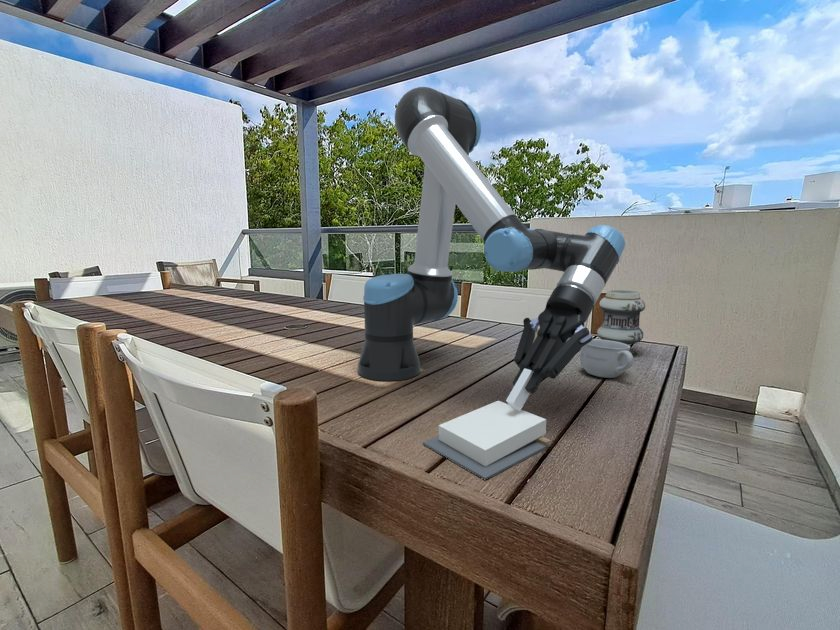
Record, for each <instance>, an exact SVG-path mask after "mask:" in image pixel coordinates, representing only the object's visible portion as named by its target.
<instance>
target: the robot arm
mask: <svg viewBox="0 0 840 630" xmlns="http://www.w3.org/2000/svg"><path fill="white" fill-rule="evenodd" d="M481 123H482V122H481V120H480V117H479V114H478V112H477V111H476V109H475V108H473V107H472V106H471V105H470V104H468V103H467V102H465V101H464V100H463V99H460V98H455V97H453V96H451V95H448V94H446V93H444V92H441V91H438V90H436V89H434V88H432V87H430V86H429V87H428V86H419V87H415V88H411V89H410V90H408V91H407V92H406V93H405V94H403V95H402V97H401V98H400V99H399V100H398V103H397V105H396V109H395V112H394V125H395V129H396V132H397V134H398V136H399V138H400V140H401V141H402V143H403V145H404V146H405V147H406V148H407V149H408V151H409V153H411V154H412V155H413V156H414V157H415V156H416V157H419V158H420V159H421V161H422V162H423V164H424V168H423V169H424V170H423V180H422V181H423V182H422V190H421V198H420V207H419V215H418V226H417V233H416V235H417V236H416V244H415V253H414V262H413V263H412V264H411V265H410V266H409V267H407V273H391V274H382V275H378V276H373V277H371V278H369V279H368V280H367V281H366V282H365V284H364V292H363V293H364V294H363V307H364V308H363V310H364V313H363V314H364V343H363V347H362V350H361V353H360V356H359V360H358V363H357V369H358V370H357V371H358V372H357V373H358V375H360V376H361V377H362V378H365V379H368V380H371V381H373V380H374V381H380V382H381V381H383V382H384V381H385V382H392V381H402V380H407V379H411V378H414V377H416V376H418V375H419V374H420V373H421V361H420V358H419V354H418V352H417V349H416V346H415V342H414V326H415V325H420V324H424V323H430V322H437V321H440V320H441V319H444V318H446V317H448V316H449V315H451V313H453V311H454V310H455V308H456V306H457V304H458V303H457V302H458V299H459V295H458V294H459V293H458V292H459V291H458V289H457V288H458V287H456V283H455V282H454V280H452V279H453V272H452V271H451V270H450V268H449V266H448V264H449V256H450V249H451V241H452V234H453V225H454V218H455V212H456V211H455V210H456V206H457V208H458V209H459V211H460V212H461V213H462V214H463V215H464V217H465V218H466V219H467V221H468V223H470V225H471V226H472V228H473V229H474V231H475V232H476V233H477V234H478V236H480V239H481V240H482V241H483V243H484V247H483V251H484V257H485V260H486V262H487V264H488V265H489V266H490V267H491V268H492V269H494V270H496V271H499V272H507V273H508V272H509V273H517V272H521V271H526V270H527V271H528V270H529V271H530V270H540V269H542V270H543V269H546V270H552V271H558V272H562V275H561V276H560V277H559V278H560V279H559V280H558V282H557V283H556V286H555V288H553V291H552V292H551V294H550V295H549V297H548V299H547V301H546V305H545V308H544V310H543V311H542V312H540V313H539V315H538V317H536V318H532V319H530V318H529V317H525V318H523V321H522V323H523V331H522V333H521V337H520V339H519V343H518V345H517V349H516V353H515V355H514V359H513V362H514V363H515V364H516V366H517V367H518V368H519V370H518V372H517V374H516V375H515V377H514V379H513V380H512V385H513V387H512V389H511V391H510V393H509V395H508V396H507V398H506V400H505V401H506V404H508V405H510V406H511V407H512V408H513V409H515V410H517V411H521V410H523V409H522V408H523V407H524V405H525V404H526V402H527V400H528V398H529V396H530V394H531V395H533V394H535V393H536V391H537V390H538V387H539V386H540V384H541V382H542V381H543V379H546V378H550V379H552V380H554V379H556V378H557V377H558V376H559V375H560V373H561V372H562V371H563V370H564V369H565V367H566V366H567V365H568V364H569V363H570V362H571V361H572V360H573V358H574V357H575V356H576V355H577V354H578V353H579V352H580V351H581V348H582V347H583V346H584V345H586V344H588V343H589V342H591V341H592V339H594V338H593V336H592V334H591V331H590V330H589V328H588V327H585V323H586V322H587V320H588V318H589V317H590V315H591V312H593V311H592V310H593V309H594V306H595V305H596V303H597V301H598V299H599V297H600V296H601V294H602V292H603V290H604V288H605V286H606V284H607V283H608V281H609V280H610V279H609V278H610V277H611V275H612V273H613V272H614V270H615V268H616V267H617V265H618V264H619V262H620V258H621V256H622V254H623V251H624V249H625V246H626V241H625V237H624V235H623V234H622V232H620V231H619V230H618V229H616V228H615V227H613V226H611V225H607V224H606V225H605V224H599V225H596V226H592V227H591V228H590V229H588V231H587V232H586V233H585V234H584V235H582V234H574V233H571V234H570V233H565V232H564V233H563V232H560V231H559V232H558V231H552V230H546V229H542V228H527V227H526V226H525V224H524V223H523V222H522V221H521V220H520V219H519V217H518V216H517V215H516V213H515V212H514V210H513V209H512V208H511V207H510V205H509V204H508V203H507V202H506V201H505V200H504V198H503V197H502V196H501V194H500V193H499V192H498V191H497V189H496V188H495V187H494V186H493V185H492V184H491V182H490V181H489V179H487V177H486V176H485V175H484V173H483V172H482V170H481V169H480V168H479V167H478V166H477V165H476V163H475V162H474V161H473V160H472V159H471V157H470V156H469V154H471V153H473V151H474V149H475V147H477V146H478V143H479V141H480V139H481V133H482V125H481ZM538 326H540V328H539V330H538V332H537V328H538ZM535 332H537V337H536V339H535V341H534V338H535ZM533 341H534V342H533Z"/></svg>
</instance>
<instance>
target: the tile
mask: <svg viewBox="0 0 840 630" xmlns="http://www.w3.org/2000/svg"><path fill="white" fill-rule="evenodd" d="M437 429H438V436H439V440H440V441H442V442H443V443H445V444H447V445H449V446H450V447H452V448H454V449H456V450H457V451H459V452H461V453H463V454H464V455H466V456H468V457H470V458H471V459H473V460H475V461H477V462H478V463H480V464H482V465H484V466H487V465H489V464H491V463H493V462H495V461H497V460H498V459H500V458H502V457H504V456H506V455H508V454H509V453H511V452H513V451H515V450H517V449H519V448H521V447H522V446H524V445H526V444H528V443H530V442H532V441H534V440H535V439H537V438H539V437H541V436H542V437H544V436H545V435H546V434H547V419H546V418H544V417H541V416H539V415H536V414H533V413H531V412H528V411H525V410H523V409H521V411H517V410H515V409H513V408H512V407H511V406H510V405H509V404H508V403H507V402H503V401H502V400H497V401H493V402H492V403H488V404H487V405H484V406H481V407H479V408H477V409H475V410H472V411H469V412H468V413H465V414H462V415H459V416H457V417H456V418H455V417H454V418H453V419H450V420H448V421H445V422H444V423H441V424H438V428H437Z"/></svg>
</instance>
